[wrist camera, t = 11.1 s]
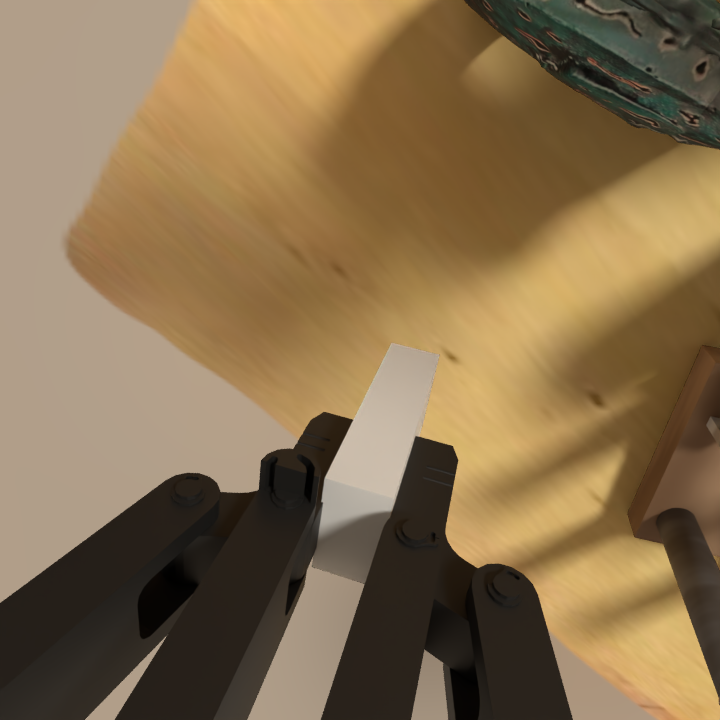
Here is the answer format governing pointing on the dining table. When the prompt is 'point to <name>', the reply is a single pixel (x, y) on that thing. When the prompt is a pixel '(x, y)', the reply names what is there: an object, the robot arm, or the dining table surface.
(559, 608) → the dining table surface
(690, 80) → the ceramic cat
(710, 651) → the stool
